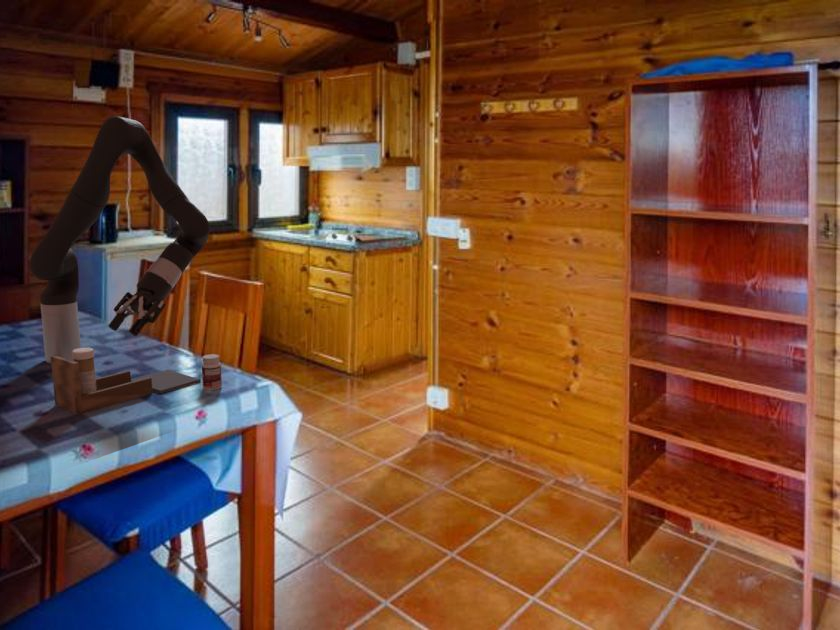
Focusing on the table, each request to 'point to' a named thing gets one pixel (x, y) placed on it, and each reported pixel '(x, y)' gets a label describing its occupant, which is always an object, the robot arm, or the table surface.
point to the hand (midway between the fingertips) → (121, 331)
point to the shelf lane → (107, 387)
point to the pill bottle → (211, 372)
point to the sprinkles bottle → (85, 369)
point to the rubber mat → (169, 381)
